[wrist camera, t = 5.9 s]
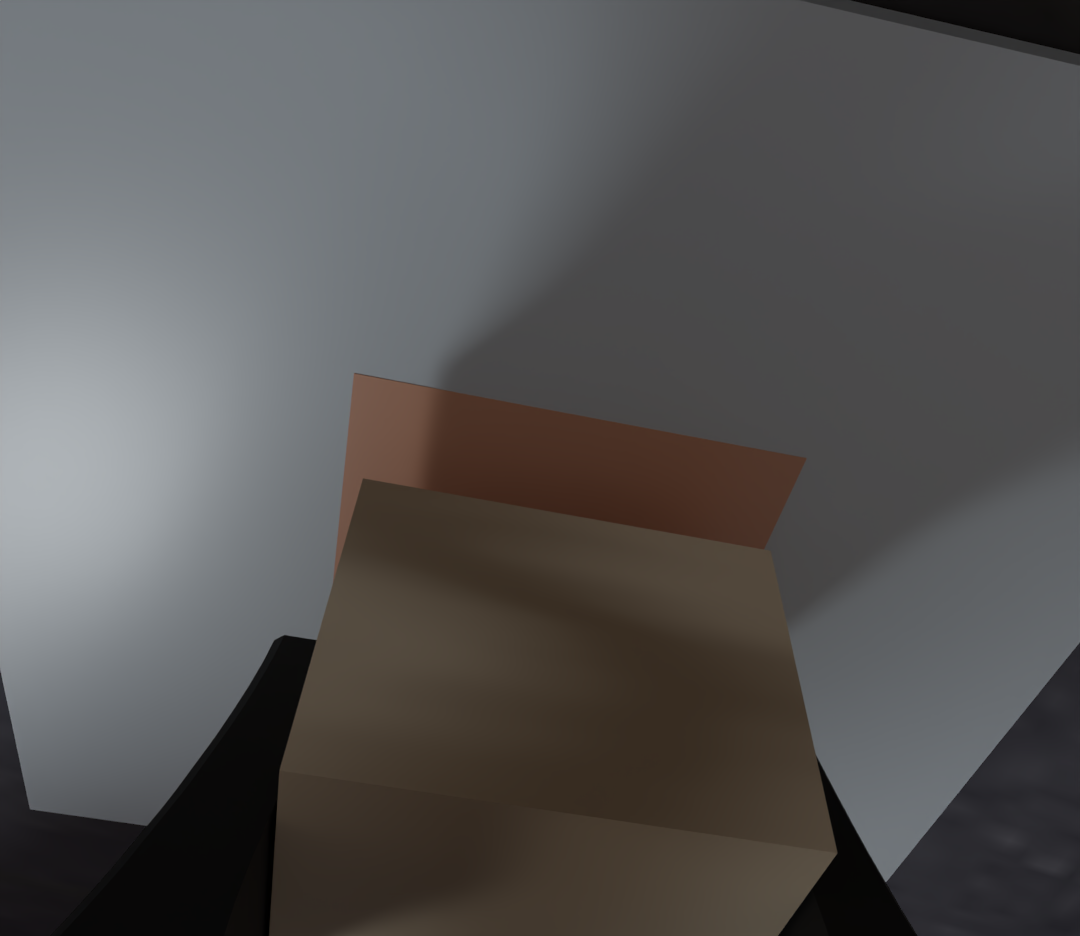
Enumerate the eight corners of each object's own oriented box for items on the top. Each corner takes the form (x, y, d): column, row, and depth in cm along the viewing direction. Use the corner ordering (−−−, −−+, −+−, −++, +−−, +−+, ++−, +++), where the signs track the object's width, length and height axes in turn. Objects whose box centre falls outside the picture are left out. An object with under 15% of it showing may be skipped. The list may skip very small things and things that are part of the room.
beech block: (333, 734, 15) (262, 1020, 11) (362, 478, 11) (279, 771, 8) (659, 785, 15) (678, 1071, 12) (771, 550, 12) (837, 853, 9)
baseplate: (44, 781, 19) (29, 810, 18) (-149, -236, 9) (-192, -232, 8) (845, 896, 20) (851, 925, 20) (1430, 136, 10) (1471, 158, 10)
